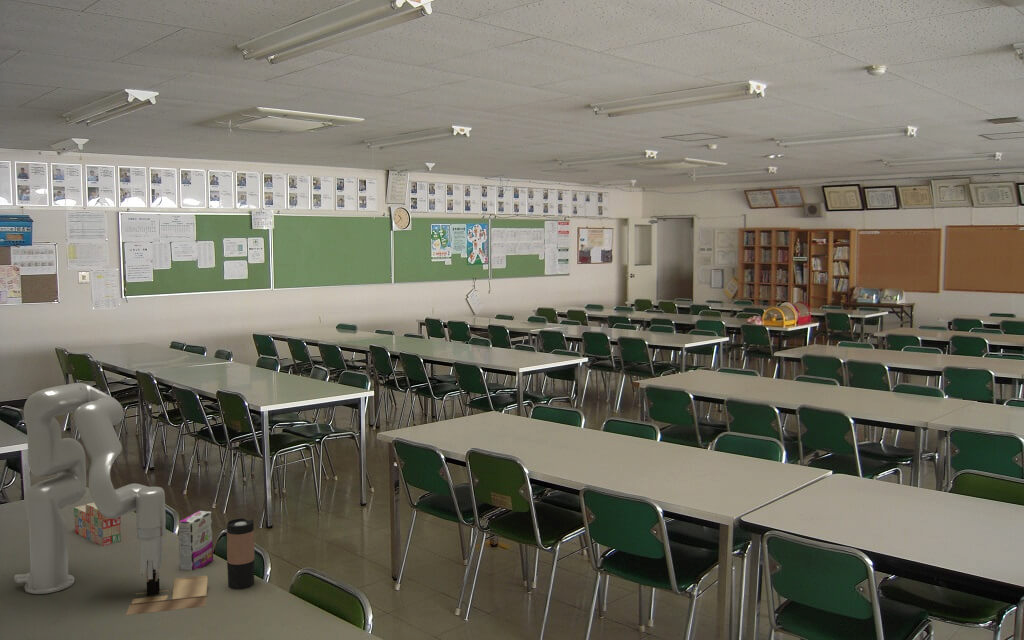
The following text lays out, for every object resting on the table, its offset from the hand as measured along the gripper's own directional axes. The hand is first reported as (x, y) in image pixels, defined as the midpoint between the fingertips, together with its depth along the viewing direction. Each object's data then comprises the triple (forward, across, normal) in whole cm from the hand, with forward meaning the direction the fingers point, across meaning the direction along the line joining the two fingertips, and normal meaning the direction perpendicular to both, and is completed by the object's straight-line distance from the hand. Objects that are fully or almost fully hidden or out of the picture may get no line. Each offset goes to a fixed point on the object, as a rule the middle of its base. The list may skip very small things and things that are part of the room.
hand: (153, 593), depth 224 cm
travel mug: (+2, 0, +24) cm, 24 cm away
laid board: (+1, +9, +5) cm, 10 cm away
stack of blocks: (+1, -59, -25) cm, 64 cm away
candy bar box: (+1, -21, +10) cm, 23 cm away
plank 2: (-1, +2, +10) cm, 10 cm away
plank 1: (+1, +2, 0) cm, 2 cm away
